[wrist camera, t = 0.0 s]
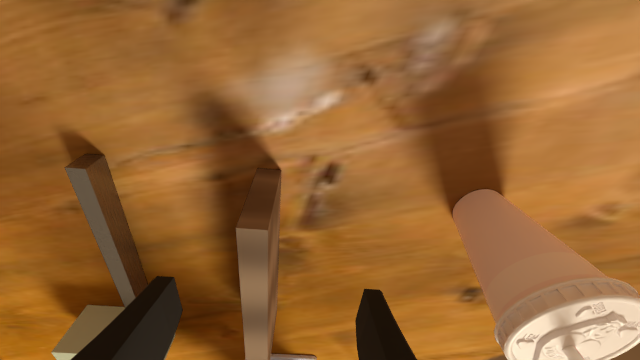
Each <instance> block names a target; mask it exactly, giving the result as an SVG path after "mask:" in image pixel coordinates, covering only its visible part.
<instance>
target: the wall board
mask: <svg viewBox="0 0 640 360" xmlns="http://www.w3.org/2000/svg"><path fill="white" fill-rule="evenodd" d="M280 193H281V170H273V169H261V168H257V171H256V174H255V177H254V179H253V182H252V185H251V188H250V190H249V193H248V196H247V198H246V201H245V204H244V207H243V209H242V212H241V215H240V218H239V220H238V223H237V226H236V238H237V251H238V264H239V278H240V291H241V304H242V317H243V330H244V344H245V357H246V360H270V358H271V350H272V343H273V335H274V328H275V321H276V313H277V288H278V256H279V225H280Z"/></svg>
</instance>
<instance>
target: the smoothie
mask: <svg viewBox="0 0 640 360" xmlns="http://www.w3.org/2000/svg"><path fill="white" fill-rule="evenodd" d="M453 219H454V222H455V224H456V227H457V229H458V232H459V234H460V237H461V239H462V241H463V244H464V246H465V249H466V251H467V254H468V256H469V259H470V261H471V264H472V266H473V269H474V271H475V274H476V276H477V278H478V281H479V283H480V286H481V288H482V291H483V293H484V296H485V298H486V301H487V304H488V306H489V308H490V311H491V313H492V315H493V318H494V320H495V322H496V326H495V329H494V334H495V339H496V341H497V342H498V343H499V345H500V346H501V348H502V350H503V352H504V354H505V356H506V358H507V359H508V360H609V359H611V358H614V357H616V356H618V355H620V354H622V353H624V352H626V351H628V350H629V349H631V348H632V347H634V346H635V345H637V344H638V343H639V342H640V295H638V292H637V290H635V289H634V288H633V287H632V286H631V285H630V284H628V283H626V282H623V281H620V280H617V279H614V278H608V277H607V276H606V275H605V274H603V273H602V272H601V271H600V270H598V269H597V268H596V267H594V266H593V265H592V264H591V263H589V262H588V261H587V260H586V259H584V258H583V257H581V256H580V255H579V254H577V253H576V252H575V251H573V250H572V249H571V248H570V247H568V246H567V245H566V244H564V243H563V242H562V241H560V240H559V239H558V238H557V237H555V236H554V235H553V234H551V233H550V232H549V231H547V230H546V229H545V228H544V227H542V226H541V225H540V224H538V223H537V222H536V221H534V220H533V219H532V218H531V217H529V216H528V215H527V214H525V213H524V212H523V211H521V210H520V209H519V208H518V207H516V206H515V205H514V204H512V203H511V202H510V201H508V200H507V199H506V198H505V197H503V196H502V195H501V194H499V193H498V192H496V191H494V190H490V189H481V190H476V191H473V192H471V193H469V194H467V195H465V196H464V197H462V198H461V199H460V200H459V201H458V202H457V203H456V205H455V207H454V209H453Z"/></svg>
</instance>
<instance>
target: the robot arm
mask: <svg viewBox="0 0 640 360" xmlns="http://www.w3.org/2000/svg"><path fill="white" fill-rule="evenodd" d="M182 311H183V310H182V306H181V302H180V298H179V294H178V290H177V287H176V283H175V279H174V277H162V276H157V277H156V278H154V280H153V281H152V282H151V283H150V284H149V285H148V286H147V287H146V288H145V289H144V290H143V291H142V292H141V293H140V294H139V295H138V296H137V297H136V298H135V299H134V300H133V301H132V302H131V303H130V304H129V305H128V306H127V307H126V308H125V309H124V310H123V311H122V312H121V313H120V314H119V315H118V316H117V317H116V318H115V319H114V320H113V321H112V322H111V323H110V324H109V325H108V326H107V327H105V328H104V329H103V330H102V331H101V332H100V333H99V334H98V335H97V336H96V337H95V338H94V339H93V340H92V341H91V342H89V343H88V344H87V345H86V346H85V347H84V348H83V349H82V350H81V351H79V352H78V353H77V354H76V355H75V356H74V357H73V358H72V359H71V360H164V358H165V356H166V354H167V351H168V349H169V347H170V345H171V343H172V340H173V338H174V335H175V332H176V329H177V326H178V323H179V320H180V317H181V314H182ZM356 338H357V350H358V357H359V360H417V359H416V357H415V355H414V354H413V352H412V350H411V348H410V347H409V345H408V343H407V341H406V339H405V338H404V336H403V334H402V332H401V330H400V328H399V326H398V325H397V323H396V321H395V319H394V317H393V315H392V313H391V311H390V309H389V306H388V304H387V302H386V300H385V298H384V296H383V293H382V292H381V291H380V290H373V289H364V292H363V295H362V299H361V303H360V306H359V310H358V313H357V317H356ZM245 360H246V357H245ZM270 360H317V358H316V357H315V356H311V355H290V354H271V358H270Z"/></svg>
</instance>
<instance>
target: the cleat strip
mask: <svg viewBox="0 0 640 360" xmlns="http://www.w3.org/2000/svg"><path fill="white" fill-rule="evenodd" d="M65 170H66V172H67V174H68V176H69V179H70V181H71V183H72V186H73V188H74V190H75V193H76V195H77V197H78V200H79V202H80V204H81V207H82V209H83V211H84V213H85V216H86V218H87V220H88V223H89V225H90V227H91V230H92V232H93V234H94V237H95V239H96V241H97V244H98V246H99V248H100V251H101V253H102V255H103V257H104V260H105V262H106V264H107V267H108V269H109V271H110V274H111V276H112V278H113V281H114V283H115V285H116V288H117V290H118V292H119V294H120V297H121V299H122V301H123V304H124V306H125V308H126V307H127V306H128V305H129V304H130V303H131V302H132V301H133V300H134V299H135V298H136V297H137V296H138V295H139V294H140V293H141V292H142V291H143V290H144V289H145V288H146V287H147V286H148V283H147V280H146V277H145V274H144V271H143V268H142V265H141V262H140V259H139V256H138V253H137V251H136V248H135V245H134V242H133V239H132V236H131V233H130V230H129V227H128V224H127V221H126V218H125V215H124V212H123V209H122V206H121V203H120V200H119V197H118V194H117V191H116V188H115V185H114V183H113V180H112V177H111V174H110V171H109V168H108V165H107V162H106V159H105V156H104V155H93V154H84V155H83V156H81V157H80V158H78V159H77V160H75V161H74V162H72V163H71V164H69V165H68V166H66V167H65Z"/></svg>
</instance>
